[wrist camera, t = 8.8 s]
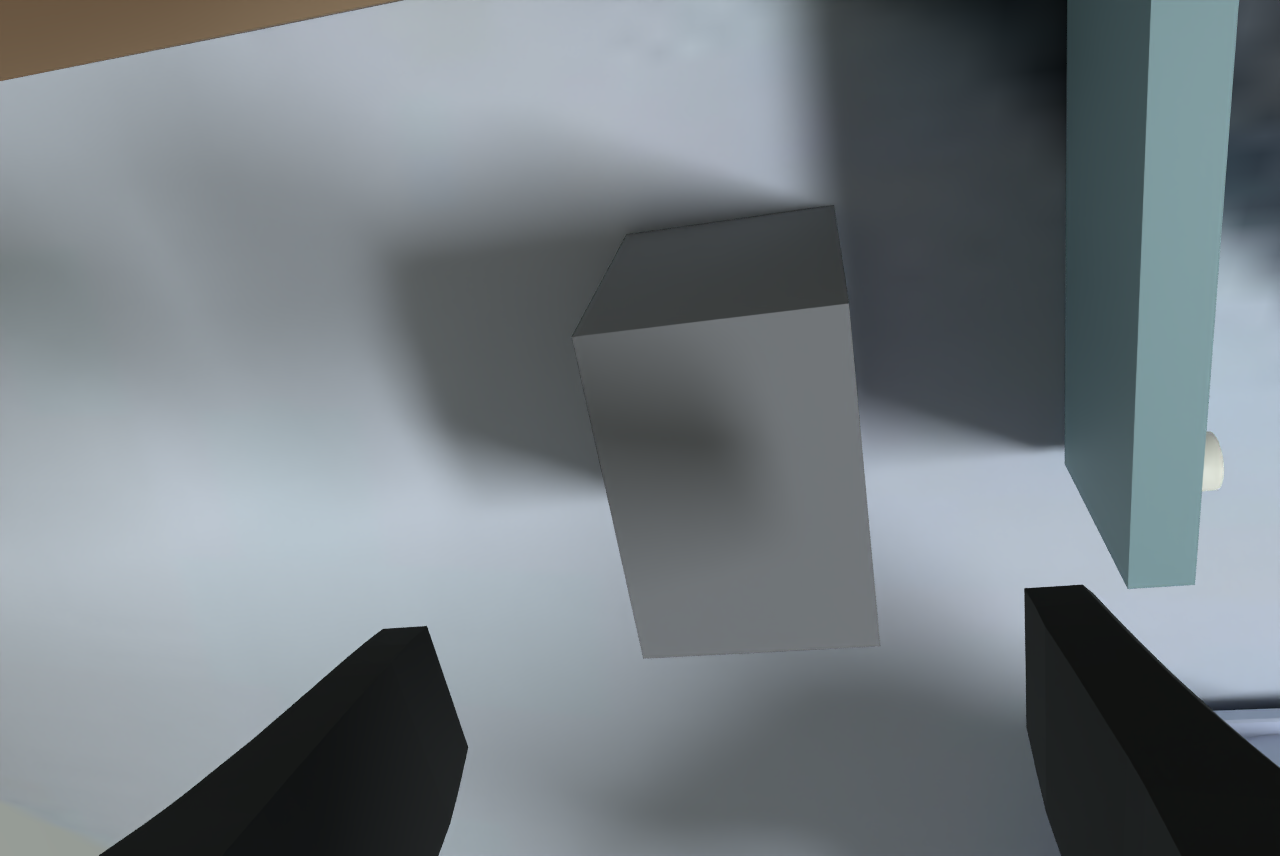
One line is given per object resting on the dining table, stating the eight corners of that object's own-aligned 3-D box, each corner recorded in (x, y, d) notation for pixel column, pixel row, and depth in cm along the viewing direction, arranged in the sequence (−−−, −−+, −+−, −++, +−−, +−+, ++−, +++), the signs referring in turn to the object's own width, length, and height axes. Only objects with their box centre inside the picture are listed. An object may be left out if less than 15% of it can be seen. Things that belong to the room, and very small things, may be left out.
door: (1059, -112, 15) (1149, -125, 11) (1191, -139, 15) (1332, -160, 11) (1058, 461, 20) (1123, 593, 16) (1160, 452, 19) (1252, 585, 16)
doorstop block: (859, 480, 21) (880, 646, 16) (675, 495, 22) (642, 658, 17) (833, 204, 18) (848, 303, 14) (626, 233, 19) (571, 336, 14)
